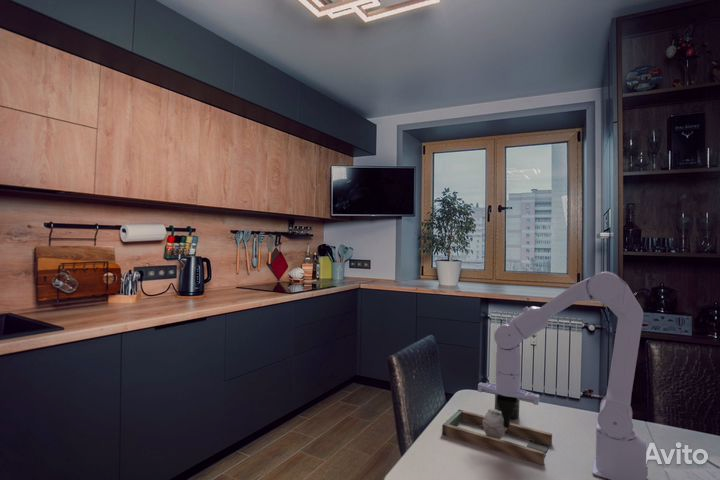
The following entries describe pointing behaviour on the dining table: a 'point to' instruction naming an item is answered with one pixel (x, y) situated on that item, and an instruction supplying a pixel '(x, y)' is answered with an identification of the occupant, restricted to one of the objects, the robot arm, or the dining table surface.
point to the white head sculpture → (494, 424)
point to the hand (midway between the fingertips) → (506, 426)
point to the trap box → (530, 453)
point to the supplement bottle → (515, 411)
